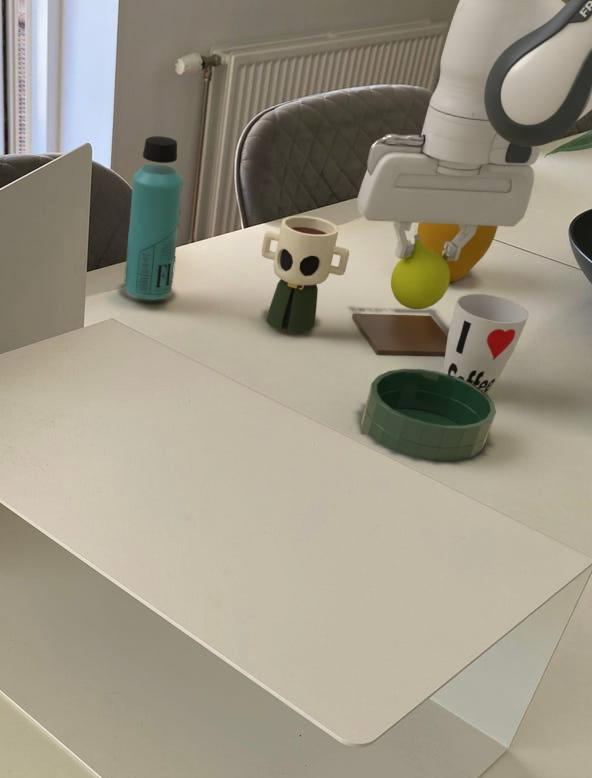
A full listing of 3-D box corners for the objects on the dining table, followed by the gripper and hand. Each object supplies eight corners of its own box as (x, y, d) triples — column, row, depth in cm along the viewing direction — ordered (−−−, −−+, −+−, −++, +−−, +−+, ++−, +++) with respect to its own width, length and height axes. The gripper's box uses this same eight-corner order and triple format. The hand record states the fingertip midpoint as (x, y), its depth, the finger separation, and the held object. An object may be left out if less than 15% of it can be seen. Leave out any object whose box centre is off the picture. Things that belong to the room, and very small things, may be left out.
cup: (427, 393, 118) (452, 312, 111) (436, 366, 124) (460, 288, 117) (496, 410, 116) (526, 328, 110) (502, 382, 122) (531, 303, 115)
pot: (454, 409, 116) (468, 369, 112) (499, 470, 106) (516, 429, 102) (346, 408, 114) (356, 367, 111) (381, 469, 104) (394, 427, 101)
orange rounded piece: (494, 286, 146) (525, 195, 137) (437, 295, 142) (465, 201, 133) (445, 259, 153) (471, 170, 144) (389, 266, 149) (413, 175, 140)
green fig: (373, 299, 128) (393, 220, 122) (415, 292, 131) (437, 214, 124) (409, 322, 124) (432, 240, 117) (451, 314, 126) (476, 235, 120)
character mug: (241, 326, 128) (258, 223, 120) (258, 307, 133) (276, 207, 125) (322, 347, 125) (346, 243, 117) (336, 327, 130) (360, 226, 122)
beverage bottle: (154, 315, 129) (172, 150, 116) (112, 301, 131) (124, 138, 118) (179, 300, 133) (199, 139, 120) (138, 287, 136) (152, 127, 122)
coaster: (429, 319, 135) (430, 315, 134) (459, 356, 127) (460, 352, 126) (351, 317, 133) (352, 313, 133) (376, 354, 125) (377, 350, 125)
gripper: (382, 141, 110) (353, 264, 119) (554, 150, 113) (512, 270, 122) (365, 125, 115) (338, 245, 124) (530, 134, 118) (492, 251, 127)
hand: (426, 258), depth 123 cm, fingers closed on green fig, 5 cm apart
